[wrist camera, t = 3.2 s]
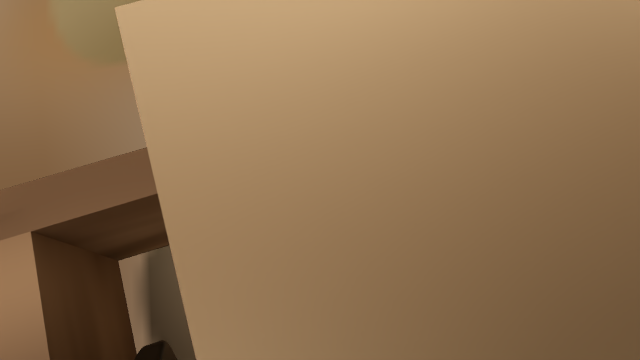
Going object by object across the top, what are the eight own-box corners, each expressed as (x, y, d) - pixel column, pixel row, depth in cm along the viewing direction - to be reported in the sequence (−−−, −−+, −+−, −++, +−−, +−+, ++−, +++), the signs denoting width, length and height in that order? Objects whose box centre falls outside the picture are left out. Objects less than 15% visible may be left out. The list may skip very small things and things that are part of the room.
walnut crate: (696, 382, 15) (876, 408, 10) (137, 590, 13) (33, 738, 8) (549, 92, 18) (635, 4, 13) (75, 236, 16) (-29, 198, 11)
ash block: (477, 364, 15) (1251, 541, 3) (322, 419, 14) (336, 963, 2) (418, 212, 16) (732, -156, 4) (275, 258, 16) (114, 6, 3)
